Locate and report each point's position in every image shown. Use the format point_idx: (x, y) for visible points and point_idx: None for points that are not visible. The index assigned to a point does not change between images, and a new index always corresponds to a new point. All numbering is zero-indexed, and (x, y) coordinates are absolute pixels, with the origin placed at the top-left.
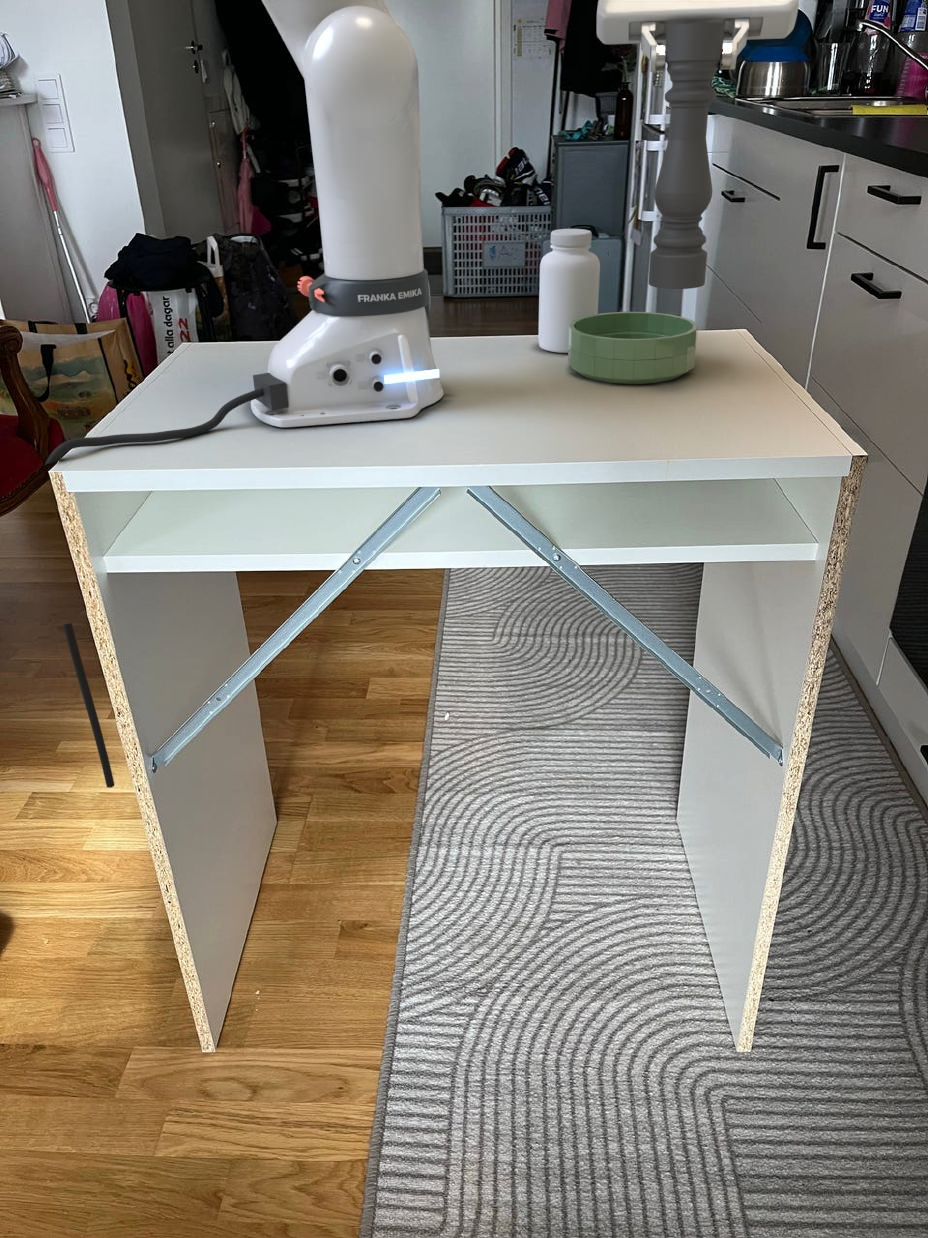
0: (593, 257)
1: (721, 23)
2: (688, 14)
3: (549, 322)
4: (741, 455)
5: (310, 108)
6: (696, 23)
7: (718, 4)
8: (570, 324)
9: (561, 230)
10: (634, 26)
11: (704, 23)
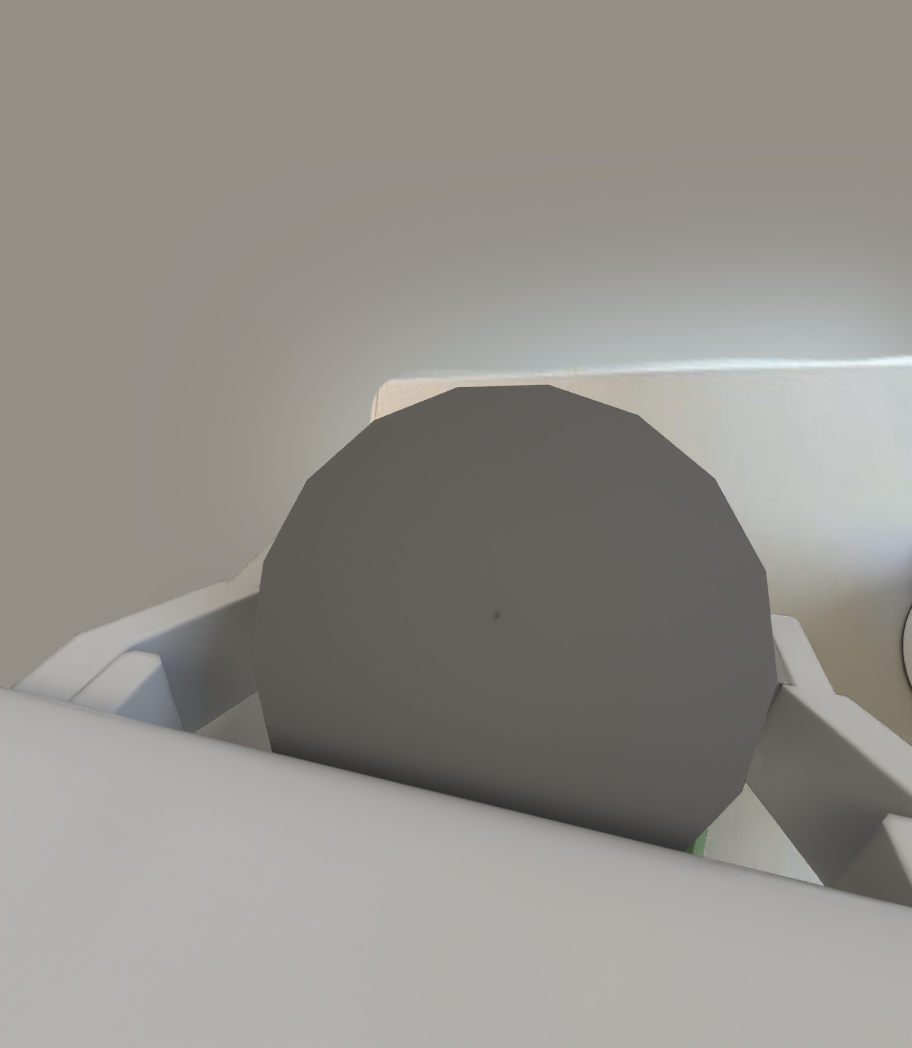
0: None
1: (326, 464)
2: (543, 821)
3: None
4: (491, 384)
5: None
6: (541, 387)
7: (152, 825)
8: (703, 839)
9: None
10: None
11: (477, 390)
